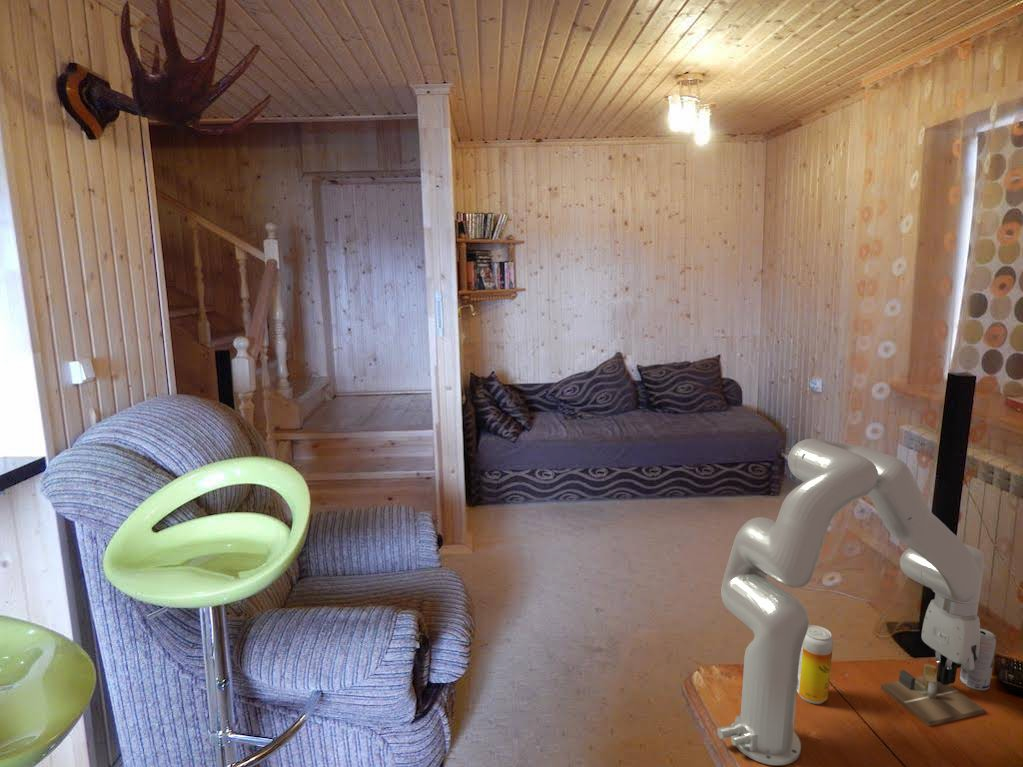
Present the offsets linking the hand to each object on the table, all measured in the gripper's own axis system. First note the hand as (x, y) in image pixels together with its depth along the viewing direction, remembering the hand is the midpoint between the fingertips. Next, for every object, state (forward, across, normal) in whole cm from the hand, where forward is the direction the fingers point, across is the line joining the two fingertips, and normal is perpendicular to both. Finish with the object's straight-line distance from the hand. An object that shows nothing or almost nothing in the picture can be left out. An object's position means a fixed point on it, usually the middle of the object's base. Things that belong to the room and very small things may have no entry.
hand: (945, 681), depth 141 cm
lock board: (+3, +2, -5) cm, 6 cm away
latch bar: (+1, -1, -2) cm, 3 cm away
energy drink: (+3, -1, +9) cm, 9 cm away
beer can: (+3, -6, -28) cm, 29 cm away
